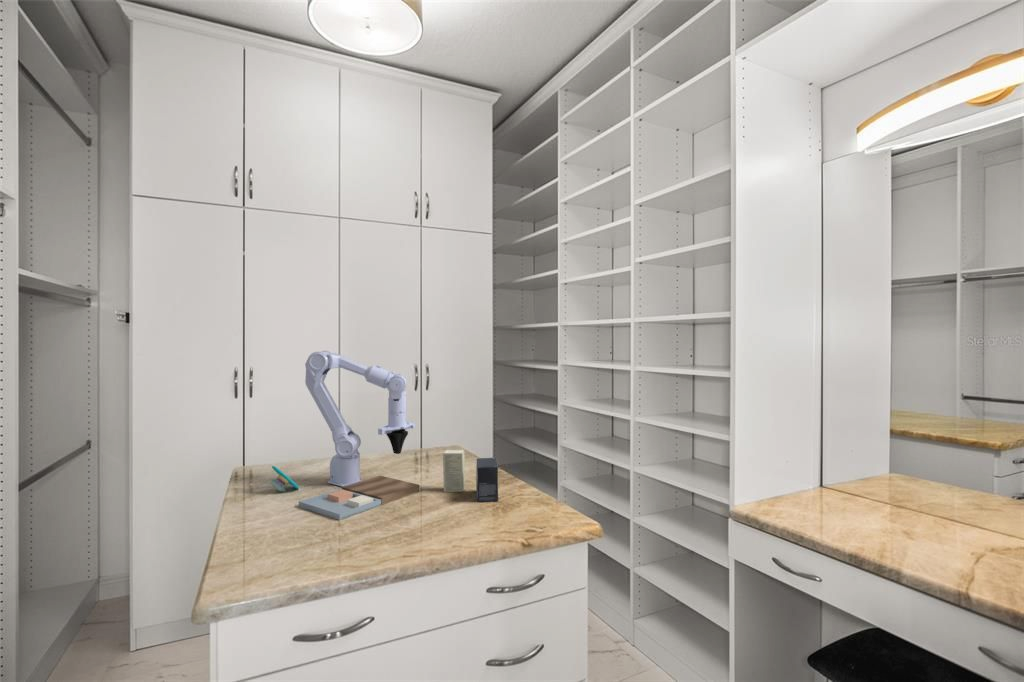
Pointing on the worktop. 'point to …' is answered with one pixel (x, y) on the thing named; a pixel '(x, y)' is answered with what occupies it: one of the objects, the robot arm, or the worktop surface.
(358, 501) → the cream tile
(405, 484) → the walnut board
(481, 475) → the small box
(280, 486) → the ornament
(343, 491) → the terracotta tile
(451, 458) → the skincare box
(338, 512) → the box
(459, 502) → the worktop surface
